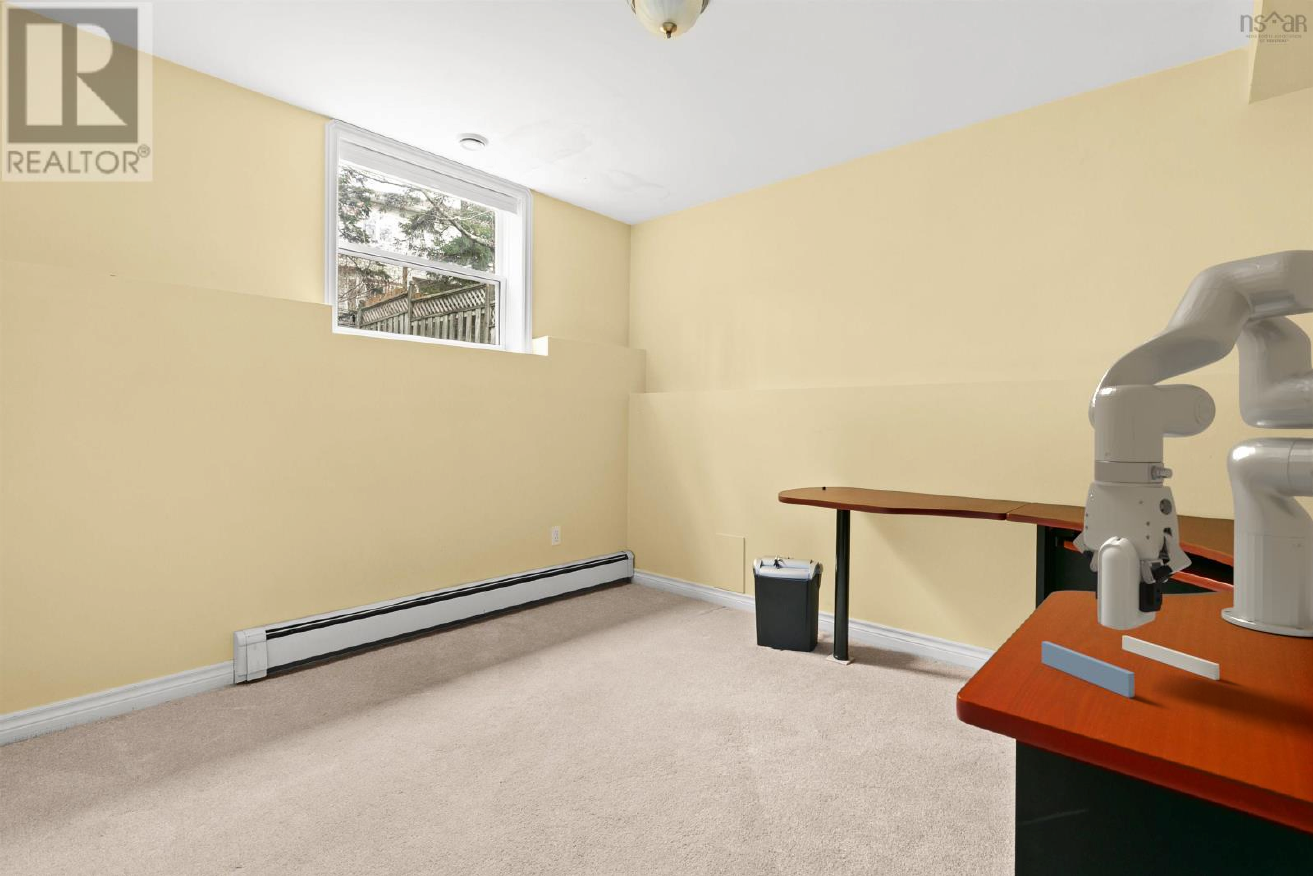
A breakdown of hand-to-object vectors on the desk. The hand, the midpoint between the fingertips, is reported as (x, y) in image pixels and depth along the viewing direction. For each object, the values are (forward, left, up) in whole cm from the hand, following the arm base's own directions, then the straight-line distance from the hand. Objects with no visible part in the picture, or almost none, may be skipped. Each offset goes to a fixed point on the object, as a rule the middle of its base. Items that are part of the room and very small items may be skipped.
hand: (1127, 603), depth 84 cm
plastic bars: (0, 0, -9) cm, 9 cm away
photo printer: (0, 0, -3) cm, 3 cm away
